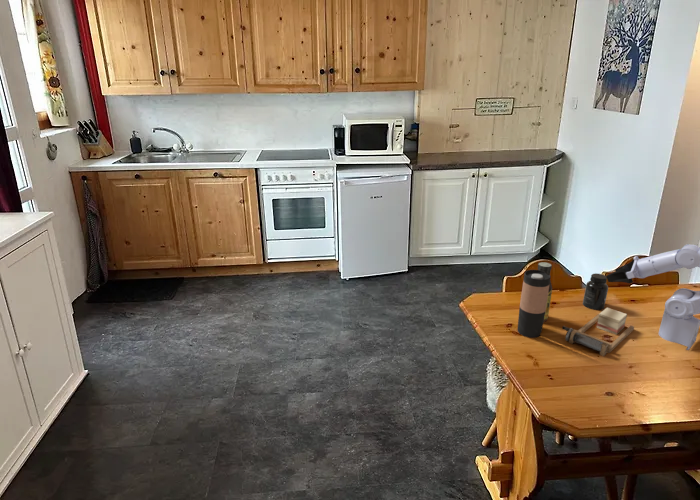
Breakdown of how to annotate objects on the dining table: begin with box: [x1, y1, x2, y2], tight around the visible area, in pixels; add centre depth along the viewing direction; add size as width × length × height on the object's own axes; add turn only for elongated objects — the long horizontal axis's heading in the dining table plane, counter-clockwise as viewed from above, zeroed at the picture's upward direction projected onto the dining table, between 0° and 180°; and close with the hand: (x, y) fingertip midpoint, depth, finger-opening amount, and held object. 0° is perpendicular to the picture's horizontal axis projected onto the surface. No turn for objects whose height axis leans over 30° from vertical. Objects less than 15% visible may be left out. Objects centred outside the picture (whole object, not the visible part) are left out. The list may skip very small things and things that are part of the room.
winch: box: [561, 325, 608, 357], centre depth 145 cm, size 13×4×5 cm, turn 43°
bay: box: [573, 313, 635, 354], centre depth 151 cm, size 11×19×4 cm, turn 133°
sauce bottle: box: [537, 261, 553, 323], centre depth 158 cm, size 6×6×20 cm
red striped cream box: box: [596, 307, 628, 336], centre depth 154 cm, size 6×6×5 cm
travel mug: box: [517, 269, 552, 339], centre depth 151 cm, size 8×8×20 cm
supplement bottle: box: [582, 272, 609, 311], centre depth 167 cm, size 7×7×12 cm
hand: (612, 275), depth 158 cm, fingers open, 7 cm apart
